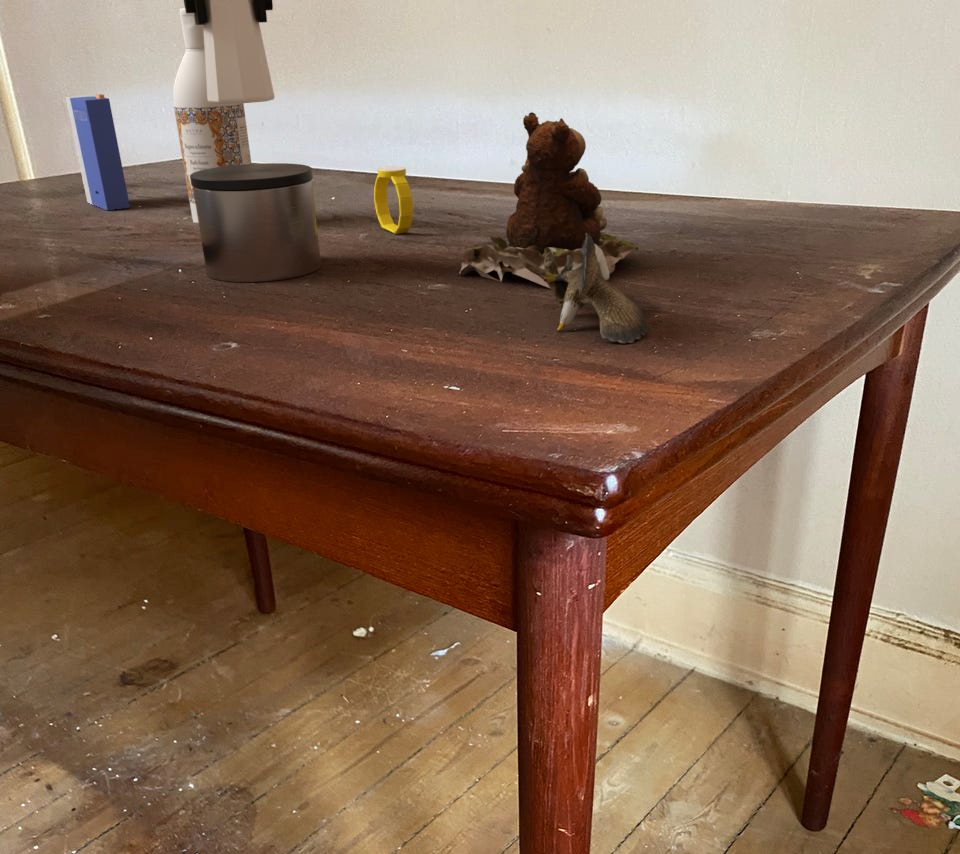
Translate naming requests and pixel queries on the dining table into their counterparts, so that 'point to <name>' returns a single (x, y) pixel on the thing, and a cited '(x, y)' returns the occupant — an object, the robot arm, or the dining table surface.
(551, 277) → the eagle figurine
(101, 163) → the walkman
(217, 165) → the bath foam
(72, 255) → the dining table surface
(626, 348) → the dining table surface
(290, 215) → the canister
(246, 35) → the pepper shaker
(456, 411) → the dining table surface
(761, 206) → the dining table surface
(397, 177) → the watch
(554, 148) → the bear figurine
